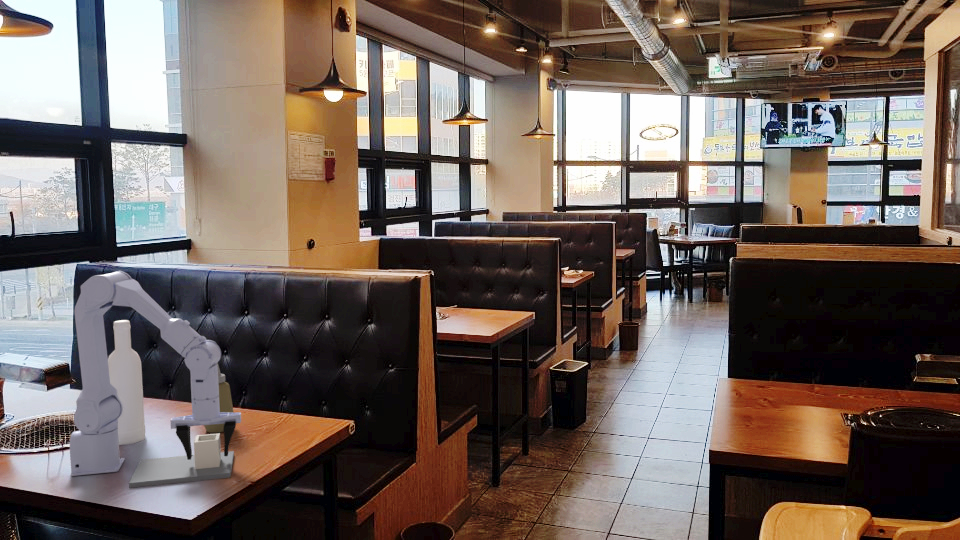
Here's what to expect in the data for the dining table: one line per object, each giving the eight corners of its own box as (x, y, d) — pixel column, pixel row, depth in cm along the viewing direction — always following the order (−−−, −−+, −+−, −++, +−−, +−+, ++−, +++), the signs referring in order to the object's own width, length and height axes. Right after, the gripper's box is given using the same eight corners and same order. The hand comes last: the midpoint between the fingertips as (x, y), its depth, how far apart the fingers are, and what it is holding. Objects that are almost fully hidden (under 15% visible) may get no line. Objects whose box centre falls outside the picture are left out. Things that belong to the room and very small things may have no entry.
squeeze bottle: (239, 425, 194) (236, 358, 192) (226, 435, 186) (223, 365, 184) (210, 424, 195) (207, 358, 193) (195, 434, 187) (192, 365, 185)
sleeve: (195, 469, 160) (193, 442, 159) (197, 461, 165) (196, 435, 164) (219, 466, 161) (218, 440, 161) (221, 458, 166) (219, 433, 166)
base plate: (129, 487, 153) (128, 466, 152) (141, 464, 166) (139, 444, 166) (230, 477, 158) (229, 457, 157) (233, 455, 171) (233, 436, 171)
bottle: (110, 437, 184) (103, 320, 181) (144, 432, 188) (138, 317, 185) (110, 447, 177) (103, 325, 174) (146, 442, 181) (140, 322, 178)
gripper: (167, 404, 156) (170, 466, 157) (239, 398, 160) (241, 459, 161) (171, 395, 163) (174, 455, 164) (240, 390, 166) (242, 448, 168)
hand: (208, 456), depth 163 cm, fingers open, 7 cm apart
